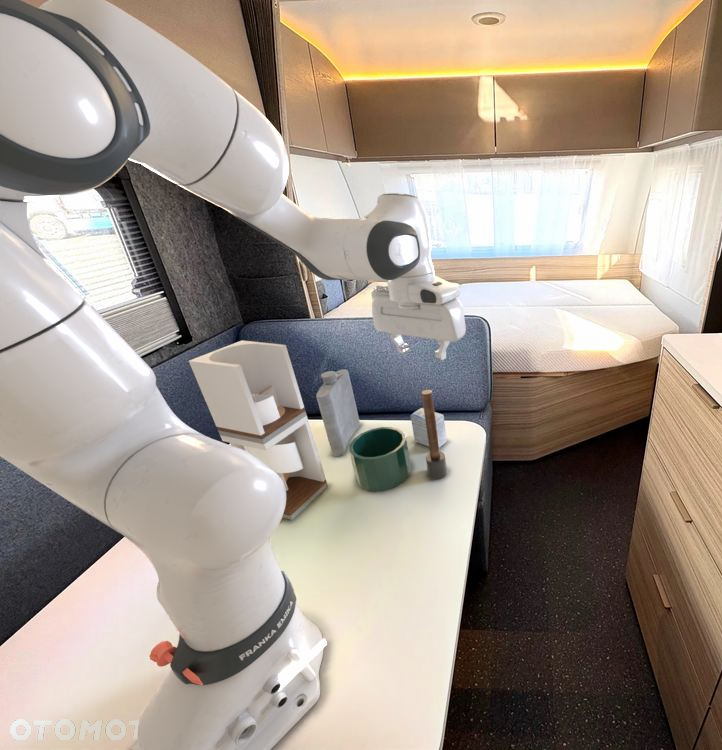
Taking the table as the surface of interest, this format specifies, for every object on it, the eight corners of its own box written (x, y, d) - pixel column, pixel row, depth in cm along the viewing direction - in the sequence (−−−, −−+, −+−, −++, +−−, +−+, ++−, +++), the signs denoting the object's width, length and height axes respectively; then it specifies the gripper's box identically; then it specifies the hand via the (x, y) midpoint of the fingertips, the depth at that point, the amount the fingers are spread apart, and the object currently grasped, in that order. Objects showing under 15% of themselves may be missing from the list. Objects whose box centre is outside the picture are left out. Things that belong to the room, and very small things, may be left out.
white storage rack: (251, 508, 83) (188, 360, 68) (289, 477, 92) (241, 340, 77) (292, 520, 80) (235, 367, 65) (327, 486, 89) (285, 344, 74)
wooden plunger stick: (440, 481, 89) (429, 398, 80) (424, 476, 91) (411, 394, 81) (450, 470, 93) (440, 389, 83) (435, 465, 94) (424, 385, 85)
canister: (387, 497, 85) (380, 465, 81) (345, 482, 90) (336, 450, 86) (421, 464, 95) (416, 433, 91) (382, 452, 100) (376, 422, 96)
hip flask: (342, 456, 99) (324, 387, 91) (327, 456, 99) (307, 388, 91) (361, 422, 114) (347, 360, 105) (348, 423, 114) (332, 361, 105)
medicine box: (447, 442, 103) (444, 414, 99) (436, 450, 100) (432, 422, 96) (425, 433, 107) (421, 406, 103) (414, 442, 104) (409, 414, 100)
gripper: (359, 288, 74) (372, 354, 80) (448, 296, 66) (455, 369, 72) (381, 281, 79) (392, 344, 85) (466, 287, 71) (472, 356, 77)
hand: (421, 355), depth 79 cm, fingers open, 8 cm apart
